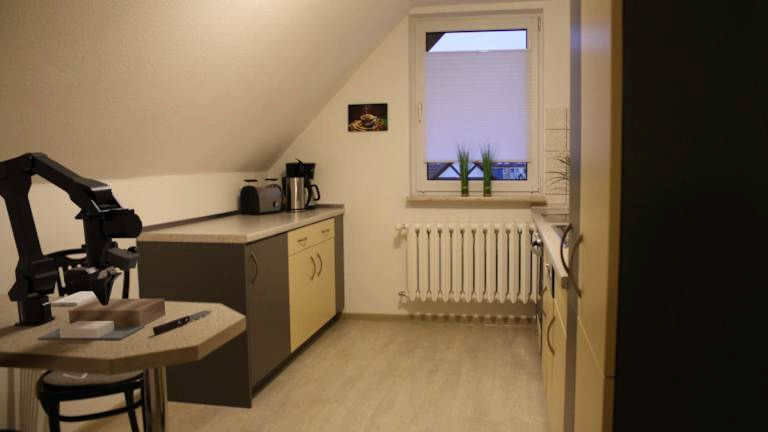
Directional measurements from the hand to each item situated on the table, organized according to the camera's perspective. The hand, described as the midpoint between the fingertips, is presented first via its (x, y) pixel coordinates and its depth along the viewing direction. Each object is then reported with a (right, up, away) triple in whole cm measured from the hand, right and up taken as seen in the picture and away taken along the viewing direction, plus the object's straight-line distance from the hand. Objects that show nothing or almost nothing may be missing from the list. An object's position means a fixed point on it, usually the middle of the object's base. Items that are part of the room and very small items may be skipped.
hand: (105, 305), depth 143 cm
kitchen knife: (+19, -5, -1) cm, 19 cm away
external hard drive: (-21, -4, +30) cm, 37 cm away
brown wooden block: (+1, -4, +5) cm, 7 cm away
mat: (-1, -6, -5) cm, 7 cm away
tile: (-1, -3, -7) cm, 7 cm away
